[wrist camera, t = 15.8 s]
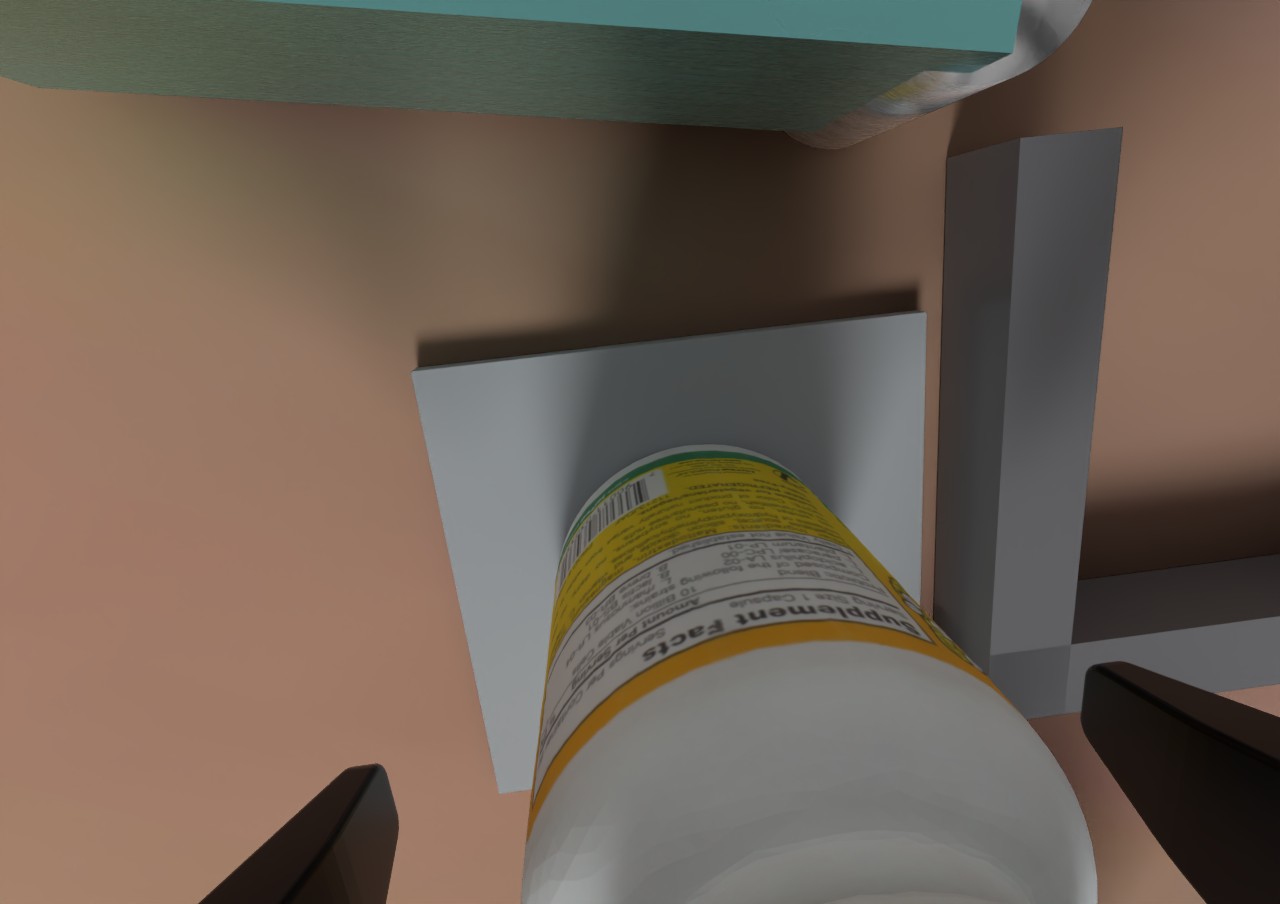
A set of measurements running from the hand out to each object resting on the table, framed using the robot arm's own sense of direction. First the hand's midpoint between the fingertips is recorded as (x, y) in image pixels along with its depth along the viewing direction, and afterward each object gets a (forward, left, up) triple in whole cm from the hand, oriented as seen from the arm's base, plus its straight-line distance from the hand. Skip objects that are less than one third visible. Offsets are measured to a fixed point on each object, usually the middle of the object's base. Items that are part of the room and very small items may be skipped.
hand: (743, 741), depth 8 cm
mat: (0, 0, -5) cm, 5 cm away
